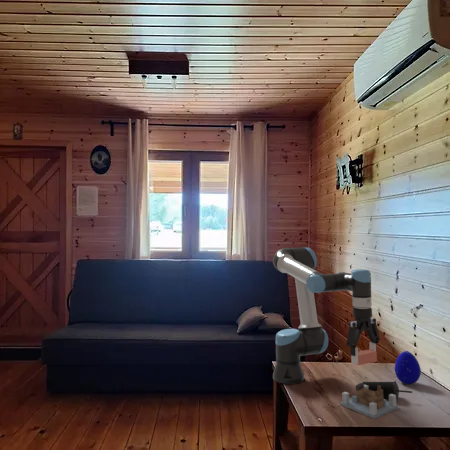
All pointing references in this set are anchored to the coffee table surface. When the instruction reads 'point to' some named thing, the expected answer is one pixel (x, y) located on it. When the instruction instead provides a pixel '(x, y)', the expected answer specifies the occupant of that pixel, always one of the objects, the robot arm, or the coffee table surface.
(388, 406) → the jig
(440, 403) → the coffee table surface
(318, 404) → the coffee table surface
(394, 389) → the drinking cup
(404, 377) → the ornament
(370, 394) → the brown blocky piece
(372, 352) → the red rectangular block
